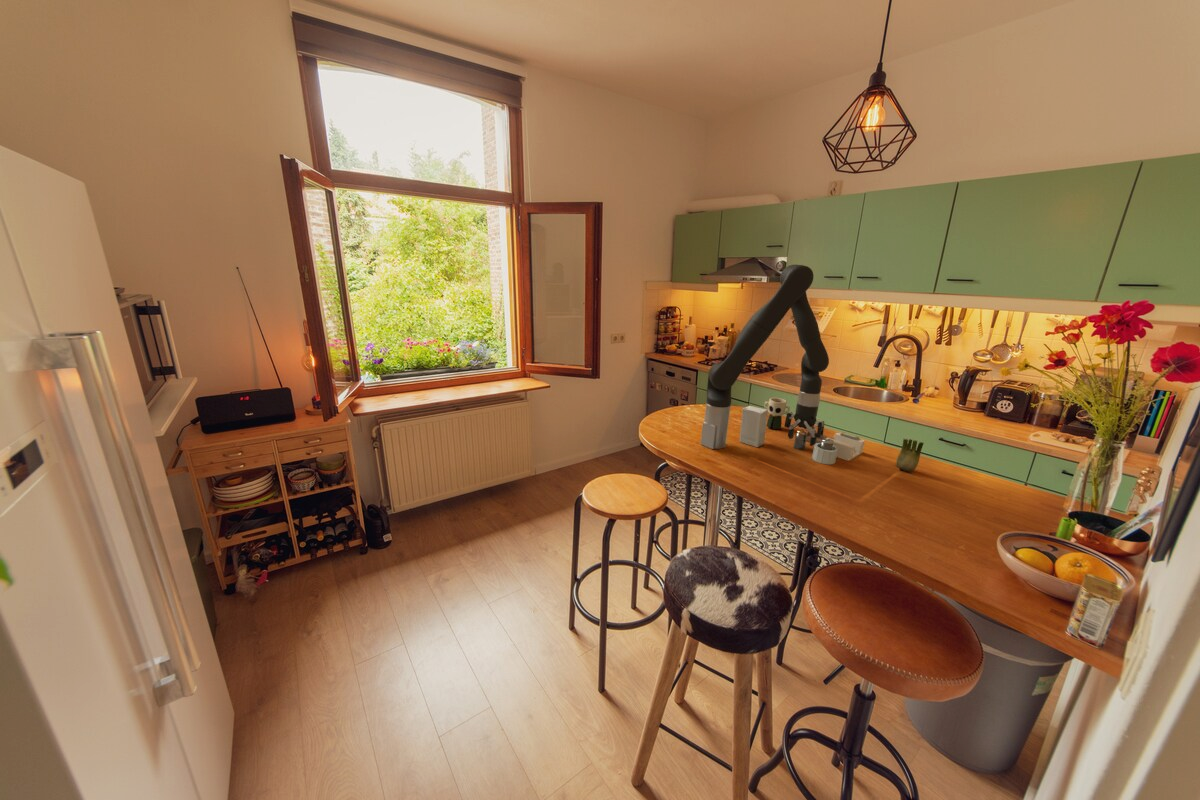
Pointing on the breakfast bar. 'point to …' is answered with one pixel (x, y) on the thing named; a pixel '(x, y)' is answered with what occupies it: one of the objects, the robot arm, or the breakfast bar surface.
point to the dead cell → (826, 444)
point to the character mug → (776, 412)
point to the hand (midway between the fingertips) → (801, 441)
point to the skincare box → (753, 426)
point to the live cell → (800, 439)
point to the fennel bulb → (909, 455)
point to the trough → (816, 439)
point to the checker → (848, 445)
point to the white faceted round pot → (824, 454)
